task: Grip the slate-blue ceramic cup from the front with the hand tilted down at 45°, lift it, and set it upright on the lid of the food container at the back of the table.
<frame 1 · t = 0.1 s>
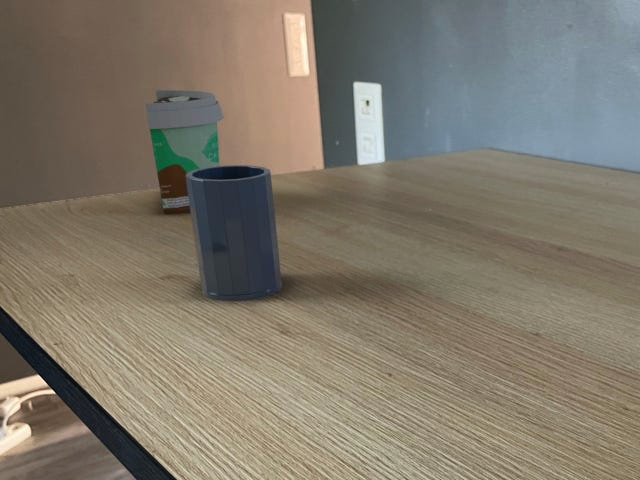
cup: (242, 290, 54), on the table
food container: (201, 205, 78), on the table
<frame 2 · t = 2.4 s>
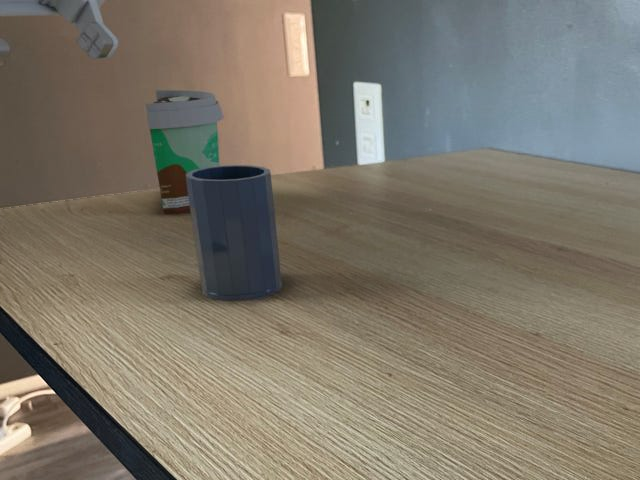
hand: (57, 56, 51), 15 cm above the table, tool tilted 45°, fingers open, 8 cm apart
nothing on the table moved.
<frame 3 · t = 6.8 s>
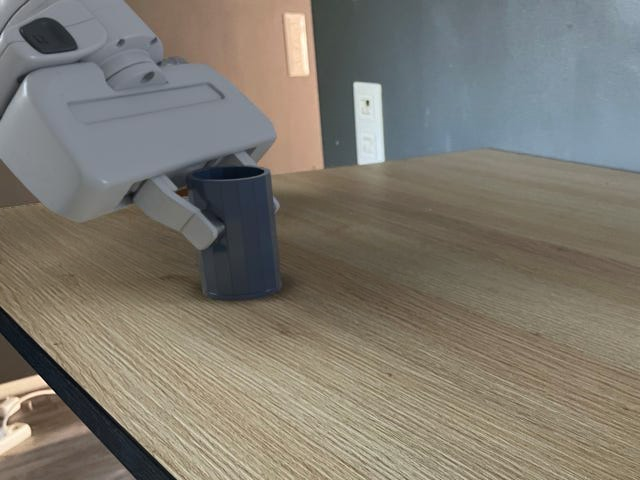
hand: (243, 228, 52), 4 cm above the table, tool tilted 45°, fingers closed on cup, 5 cm apart
cup: (243, 290, 54), on the table, touching gripper
everything else where it was.
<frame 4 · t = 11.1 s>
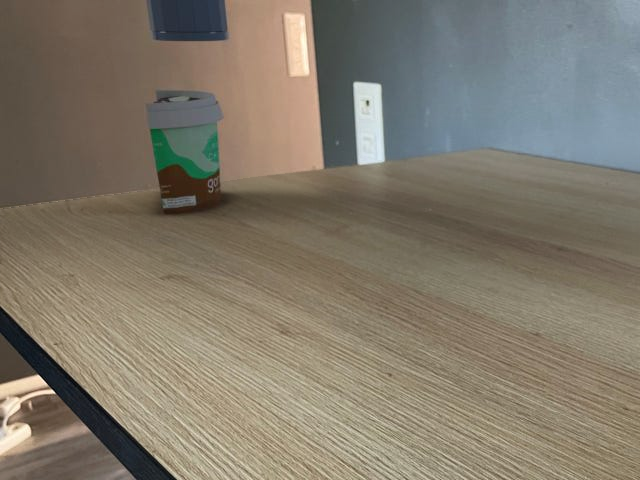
cup: (191, 39, 57), point 15 cm above the table, touching gripper
everything else where it was.
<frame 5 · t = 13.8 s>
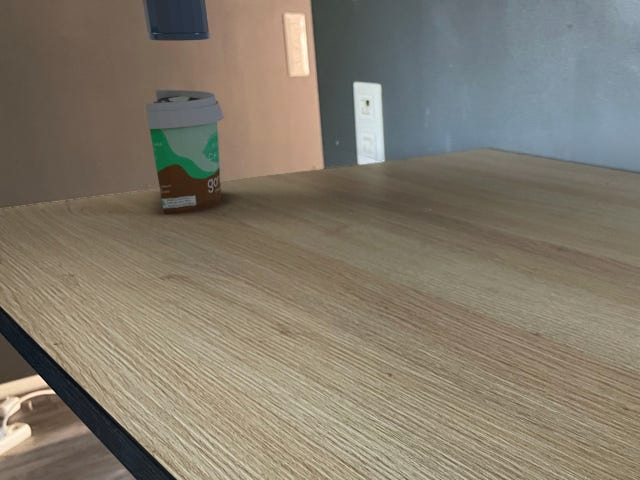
cup: (180, 39, 72), point 15 cm above the table, touching gripper
everything else where it was.
when the fingers open (14 cm above the table, at t = 15.7 s): cup stays where it is, resting on food container.
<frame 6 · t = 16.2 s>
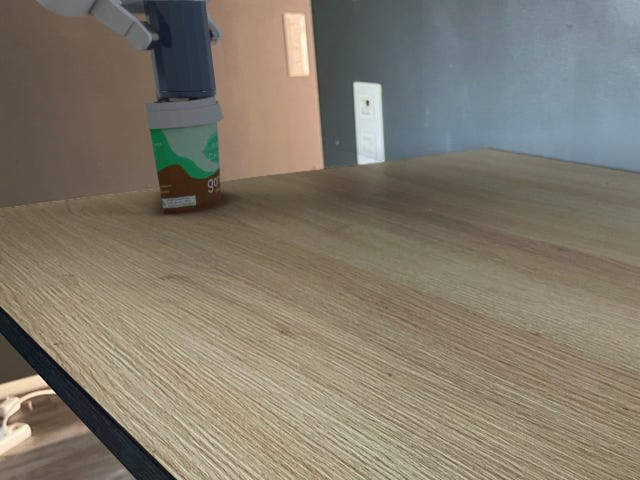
hand: (184, 43, 71), 15 cm above the table, tool tilted 45°, fingers open, 8 cm apart
cup: (187, 95, 74), point 10 cm above the table, touching food container
food container: (201, 205, 78), on the table, touching cup
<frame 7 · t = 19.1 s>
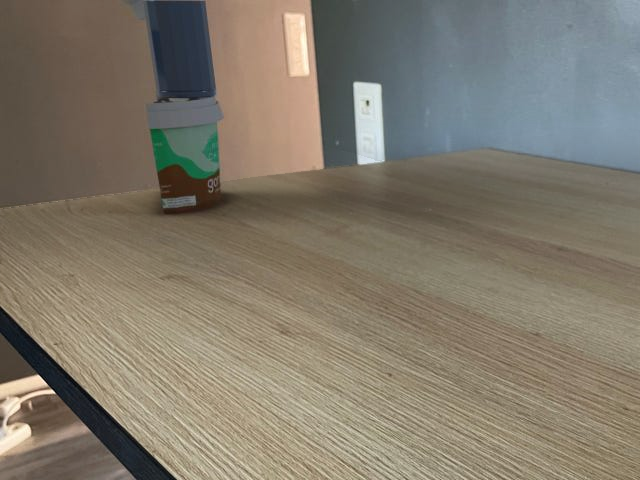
nothing on the table moved.
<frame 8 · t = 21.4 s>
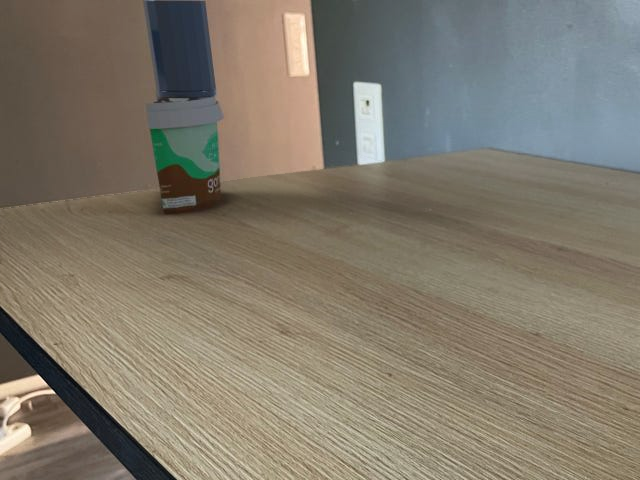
nothing on the table moved.
at the end: cup inside the target area on the food container (0.1 cm from its centre), point 10.2 cm above the food container's base; cup tilted 0°; the gripper is holding nothing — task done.
